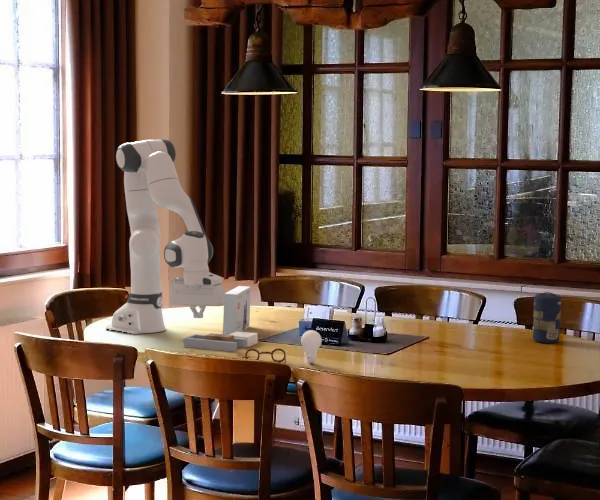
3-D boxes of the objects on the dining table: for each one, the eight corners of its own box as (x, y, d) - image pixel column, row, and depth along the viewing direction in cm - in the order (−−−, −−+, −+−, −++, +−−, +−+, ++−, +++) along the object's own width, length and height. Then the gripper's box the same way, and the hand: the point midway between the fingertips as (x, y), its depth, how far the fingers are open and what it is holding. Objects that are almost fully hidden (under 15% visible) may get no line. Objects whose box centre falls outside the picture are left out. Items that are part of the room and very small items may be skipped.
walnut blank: (205, 348, 356) (205, 335, 355) (210, 345, 360) (210, 333, 359) (229, 350, 353) (229, 337, 352) (234, 348, 356) (234, 335, 356)
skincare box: (236, 337, 374) (236, 294, 372) (222, 336, 375) (222, 293, 374) (251, 326, 395) (251, 285, 393) (237, 326, 396) (237, 285, 394)
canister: (537, 337, 377) (539, 289, 375) (563, 340, 372) (564, 291, 370) (529, 342, 369) (530, 292, 367) (555, 345, 364) (556, 295, 362)
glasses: (285, 363, 335) (285, 347, 334) (287, 372, 322) (287, 356, 321) (245, 363, 334) (245, 348, 333) (245, 372, 321) (245, 356, 320)
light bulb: (296, 363, 332) (296, 330, 330) (311, 360, 336) (311, 327, 335) (311, 367, 327) (311, 333, 326) (325, 364, 332) (326, 330, 330)
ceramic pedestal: (227, 345, 360) (227, 335, 360) (237, 341, 367) (237, 331, 367) (247, 347, 357) (247, 337, 357) (257, 342, 364) (257, 333, 364)
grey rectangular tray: (183, 346, 357) (183, 338, 357) (194, 342, 364) (194, 334, 364) (235, 351, 349) (235, 343, 349) (245, 347, 357) (245, 338, 356)
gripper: (165, 278, 357) (167, 318, 359) (217, 280, 349) (219, 320, 351) (175, 276, 363) (177, 314, 365) (226, 277, 355) (228, 317, 357)
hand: (198, 317), depth 358 cm, fingers closed
